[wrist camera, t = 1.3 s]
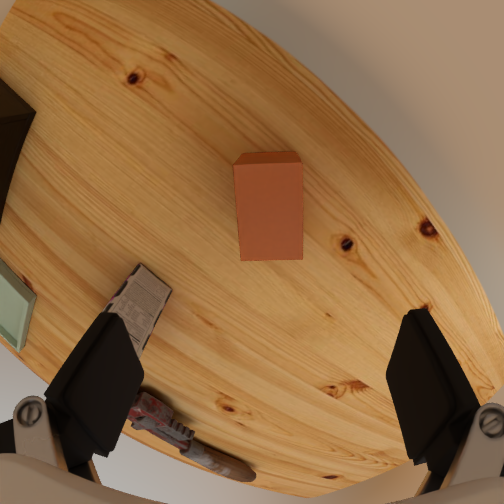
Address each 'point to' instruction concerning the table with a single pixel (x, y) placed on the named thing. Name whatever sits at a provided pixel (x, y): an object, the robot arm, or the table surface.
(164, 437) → the pipe wrench
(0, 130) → the dark open storage bin
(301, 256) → the orange brown rectangular block
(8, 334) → the shallow green tray
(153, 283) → the candy bar box
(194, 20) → the table surface
